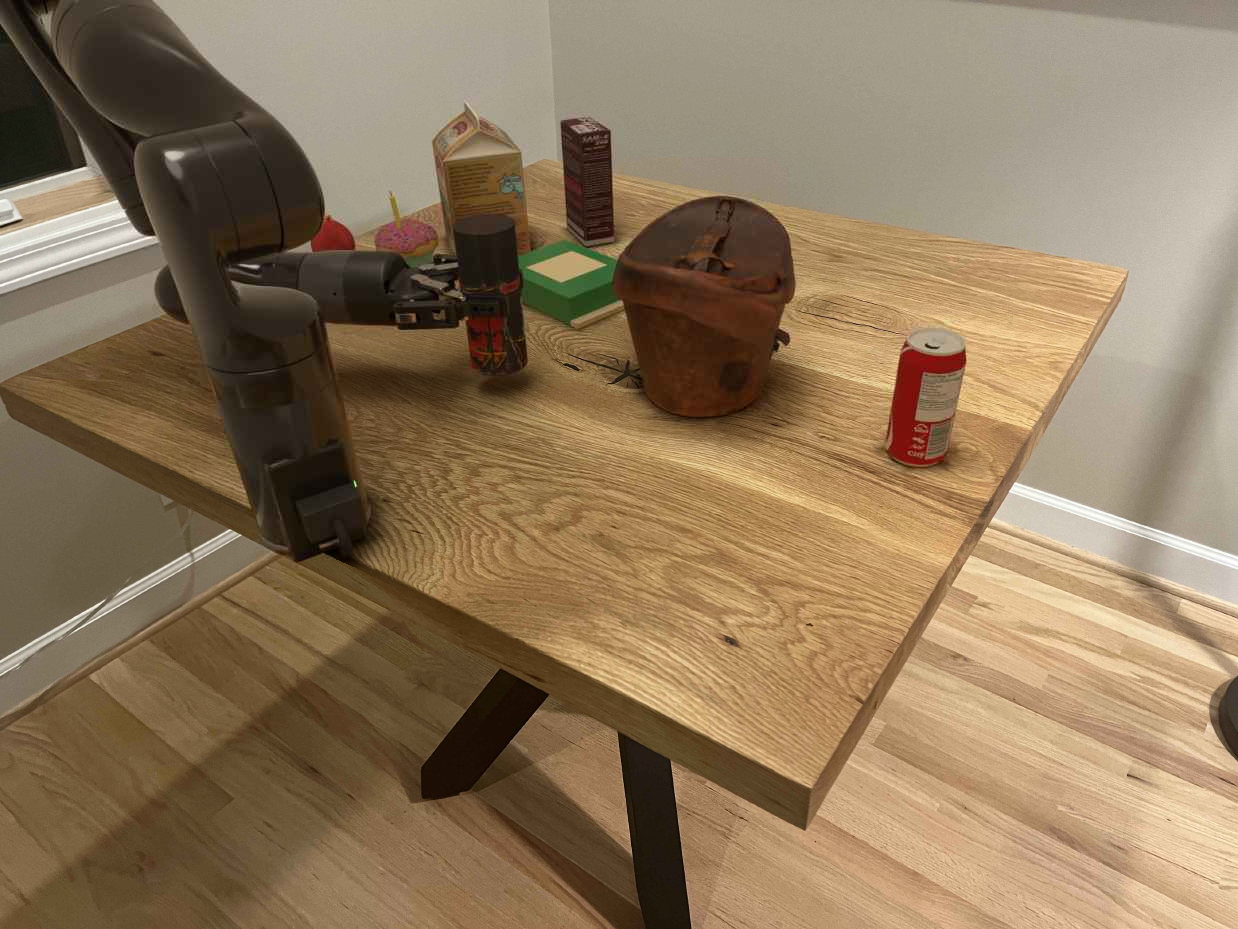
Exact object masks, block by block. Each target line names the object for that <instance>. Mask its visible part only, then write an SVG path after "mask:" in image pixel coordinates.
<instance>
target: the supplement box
mask: <svg viewBox="0 0 1238 929" xmlns="http://www.w3.org/2000/svg"><path fill="white" fill-rule="evenodd" d="M559 124H560V136H561V137H560V138H561V139H560V140H561V152H562V154H561V155H562V167H563V168H562V169H563V182H564V186H563V187H564V199H565V200H564V201H565V215H566V229H567V231H569V232H570V234H572V235H573V236H574V237H575V238H576V239H577V240H578V241H579V242H580V243H581V244H582V245H583V246H584V247H593V246H600V245H606V244H611V243H614V242H615V223H614V222H615V221H614V219H615V218H614V217H615V216H614V192H613V188H614V186H613V159H612V158H613V156H612V155H613V154H612V131H611V129H609V128H608V127H606V126H605V125H603V124H601V123H600V122H598V121H597V120H595V119H593V118H592V117H590V116H585V117H577V118H576V117H575V118H568V119H561V120H560V123H559Z"/></svg>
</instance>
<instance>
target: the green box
mask: <svg viewBox="0 0 1238 929" xmlns="http://www.w3.org/2000/svg"><path fill="white" fill-rule="evenodd" d="M617 261H618V259H617V258H613V257H612V256H609V255H606V254H604V253H601V252H598V251H595V250H593V249H590V248H587V247H586V246H584V245H580V244H577V243H575V242H572V241H570V240H568V239H562V240H560V241H557V242H554V243H551V244H548V245H545V246H543V247H539V248H537V249H534V250H531V252H528V253H523V254H518V262H519V269H521V270H522V271H523V278H524V286H523V288H522V290H521V294H522V304H523V305H526V306H528V307H530V308H532V309H534V310H537V311H538V312H541V313H544V314H545V315H547V316H549V317H551V318H553V319H556V320H557V321H560V322H562V323H564V324H566V325H569V326H571V327H572V328H574V329H577V330H580V329H581V328H585V327H586V326H589V325H591V324H593V323H595V322H598V321H600V320H603V319H605V318H607V317H610V316H613V315H615V314H617V313H619V312H622V311H625V309H624V304H623V301H621V300H619V299H618V298H617V297H616V295H615V294H614V289H613V287H612V280H613V275H614V272H615V267H616V264H617Z"/></svg>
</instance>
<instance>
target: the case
mask: <svg viewBox="0 0 1238 929" xmlns="http://www.w3.org/2000/svg"><path fill="white" fill-rule="evenodd" d="M790 238H791V237H790V235H789V232H788V230H787V229H786V228H785V226H784V225H783V223H782V222H781V221H780V220H779V219H778V218H777V217H776V216H775V215H774V214H773V213H772V212H770V211H769V210H767V209H765V208H764V207H762V206H761V205H758V204H757V203H754V202H752V201H750V200H748V199H744V198H740V197H735V196H728V195H714V196H706V197H700V198H696V199H692V200H690V201H687V202H683V203H682V204H679V205H677V206H675V207H673V208H672V209H670V210H669V211H666V212H665V213H663V215H660V216H659V217H657V218H655V219H654V220H653V221H651V222H650V223H649V224H648V225H646V226H645V227H644V228H643V229H642V230H641V231H640V232H639V233H638V234H637V235H636V236H635V237H634V238H633V239H632V240H630V242H629V244H627V245H626V246H625V248H624V250H622V252H621V253H620V254H619V255H618V257H617V260H618V261H617V264H616V267H615V272H614V275H613V280H612V287H613V289H614V294H615V295H616V297H617V298H618V299H619V300H621V301H623V304H624V312H625V317H626V321H627V324H628V328H629V332H630V336H631V340H632V343H633V349H634V352H635V356H636V359H637V363H638V368H639V371H640V374H641V378H642V382H643V388H644V392H645V394H646V396H647V397H648V398H649V399H650V400H651V401H652V402H653V403H654V404H655V405H656V406H657V407H658V408H660V409H662V410H663V411H665V412H667V413H670V414H673V415H677V416H681V417H688V418H708V417H709V418H710V417H719V416H725V415H729V414H732V413H735V412H737V411H739V410H741V409H743V408H745V407H747V406H749V405H750V404H751V403H753V402H754V401H755V400H756V399H757V398H758V396H759V395H760V394H761V392H762V389H763V388H764V385H765V382H766V377H767V374H768V370H769V366H770V363H771V359H772V358H773V355H774V353H778V351H779V349H780V346H781V344H783V345H784V347H788V346H789V345H790V343H791V336H790V334H789V333H788V332H787V331H786V330H783V329H781V328H780V325H781V320H782V317H783V314H784V311H785V307H786V305H788V304H790V303H791V302H792V300H793V299H794V297H795V292H796V287H797V281H796V275H795V267H794V258H793V254H792V243H791V239H790ZM780 343H781V344H780Z"/></svg>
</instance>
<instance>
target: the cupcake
mask: <svg viewBox="0 0 1238 929" xmlns="http://www.w3.org/2000/svg"><path fill="white" fill-rule="evenodd" d="M388 193H389V196H388V197H389V201H390V205H391V209H392V213H393V216H394V221H393V222H391V223H390V222H389V223H387V224H385V225H384V226H383V227H382V228H380V229H379V231H377V232H376V235H375V236H374V242H373V243H374V245H375V246H374V247H375V251H394V252H397V253H399V254H400V255H401V256H402V257H403V258H404V261H405V262H406V263H407V264H408V265H409V266H410V267H412V268H413V267H419V266H421V265H426V264H432V260H433V255H434V253H435V251H436V248H437V247H439V245H440V241H439V235H438V234H437V231H436V229H435V228H434V227H433V226H432V225H431V224H427V223H425V222H423V221H421V220H418V219H417V220H416V219H412V218H404V219H401V217H400V212H399V208H398V205H397V202H396V198H395V195H394V194H393V193H392V191H391V190H389V191H388Z"/></svg>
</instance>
